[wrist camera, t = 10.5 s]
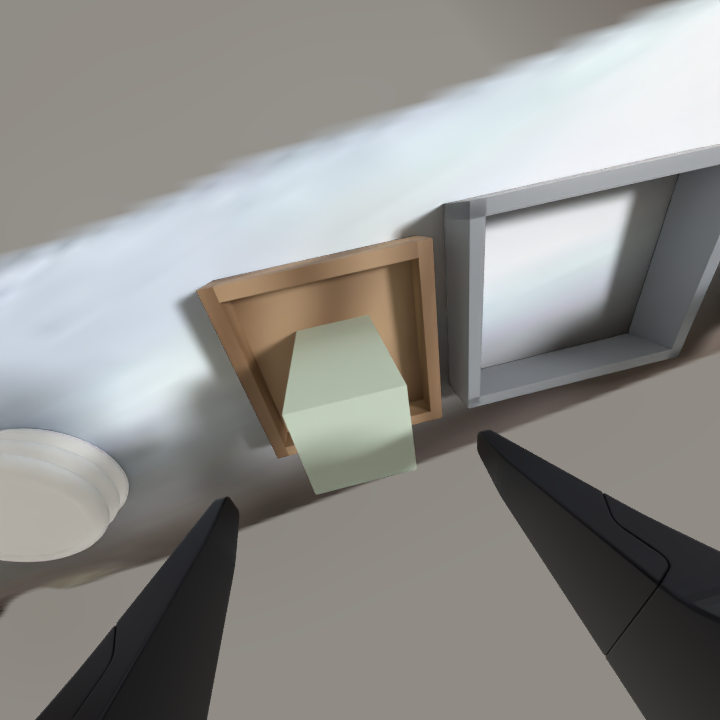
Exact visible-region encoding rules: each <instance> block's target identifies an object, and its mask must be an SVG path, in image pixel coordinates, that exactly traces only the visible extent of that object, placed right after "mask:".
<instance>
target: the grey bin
mask: <svg viewBox="0 0 720 720" xmlns="http://www.w3.org/2000/svg"><path fill="white" fill-rule="evenodd" d="M674 174H679V176H678V179H677V183H676V186H675V189H674V192H673V195H672V198H671V201H670V204H669V207H668V211H667V214H666V217H665V220H664V223H663V226H662V229H661V232H660V236H659V239H658V242H657V245H656V248H655V251H654V254H653V257H652V260H651V264H650V267H649V270H648V273H647V276H646V279H645V282H644V285H643V289H642V292H641V295H640V298H639V301H638V304H637V307H636V310H635V313H634V317H633V320H632V323H631V326H630V329H629V332H628V333H627V334H623V335H619V336H614V337H610V338H606V339H602V340H598V341H594V342H590V343H586V344H582V345H578V346H573V347H569V348H565V349H561V350H557V351H553V352H549V353H545V354H541V355H536V356H532V357H528V358H524V359H520V360H516V361H512V362H508V363H504V364H500V365H495V366H491V367H487V368H483V369H481V345H482V315H483V285H484V256H485V226H486V216H490V215H494V214H499V213H503V212H508V211H512V210H517V209H521V208H526V207H530V206H535V205H539V204H544V203H548V202H553V201H557V200H562V199H566V198H571V197H575V196H580V195H584V194H589V193H593V192H598V191H602V190H607V189H611V188H616V187H620V186H625V185H629V184H634V183H638V182H643V181H647V180H652V179H656V178H661V177H665V176H670V175H674ZM444 231H445V262H446V292H447V322H448V352H449V382H450V386H451V387H452V389H453V390H454V391H455V392H456V394H457V395H458V396H459V397H460V399H461V400H462V401H463V402H464V404H465V405H466V406H467V408H468V409H469V408H473V407H477V406H481V405H485V404H489V403H493V402H497V401H501V400H505V399H509V398H513V397H517V396H521V395H525V394H529V393H533V392H537V391H541V390H545V389H549V388H553V387H557V386H561V385H565V384H569V383H573V382H577V381H581V380H585V379H589V378H593V377H598V376H602V375H606V374H610V373H614V372H618V371H622V370H626V369H630V368H634V367H638V366H642V365H646V364H650V363H654V362H658V361H662V360H666V359H670V358H674V357H678V355H679V353H680V351H681V349H682V346H683V344H684V342H685V339H686V337H687V335H688V333H689V330H690V328H691V326H692V323H693V321H694V319H695V317H696V314H697V312H698V310H699V308H700V305H701V303H702V301H703V298H704V296H705V294H706V292H707V289H708V287H709V285H710V282H711V280H712V278H713V276H714V273H715V271H716V269H717V267H718V264H719V262H720V144H718V145H712V146H707V147H701V148H696V149H692V150H687V151H683V152H678V153H673V154H669V155H664V156H660V157H655V158H651V159H646V160H642V161H637V162H632V163H628V164H623V165H619V166H614V167H610V168H605V169H600V170H596V171H591V172H587V173H582V174H578V175H573V176H569V177H564V178H559V179H555V180H550V181H546V182H541V183H537V184H532V185H527V186H523V187H518V188H514V189H509V190H505V191H500V192H496V193H491V194H486V195H482V196H477V197H473V198H468V199H464V200H459V201H454V202H450V203H445V204H444Z"/></svg>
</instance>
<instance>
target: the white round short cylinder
mask: <svg viewBox="0 0 720 720" xmlns="http://www.w3.org/2000/svg"><path fill="white" fill-rule="evenodd" d="M128 492H129V483H128V479H127V476H126V474H125V472H124V471H123V469H122V468H121V467H120V465H119V464H118V463H117V462H116V461H115V460H114V459H113V458H112V457H111V456H110V455H108V454H107V453H106V452H104V451H103V450H101V449H100V448H98V447H96V446H94V445H92V444H90V443H88V442H86V441H84V440H82V439H79V438H77V437H74V436H70V435H67V434H64V433H59V432H55V431H49V430H42V429H31V428H16V429H6V430H0V560H3V561H13V562H39V561H48V560H55V559H59V558H63V557H67V556H70V555H73V554H76V553H78V552H81V551H83V550H85V549H87V548H89V547H90V546H91V545H93V544H94V543H95V542H96V541H98V540H99V539H100V538H101V537H102V536H103V534H104V533H105V531H106V530H107V527H108V525H109V524H110V523H111V522H112V521H113V520H114V518H115V517H116V515H117V512H118V510H119V509H120V508H121V507H122V506H123V505H124V503H125V502H126V499H127V496H128Z"/></svg>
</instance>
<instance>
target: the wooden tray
mask: <svg viewBox="0 0 720 720" xmlns="http://www.w3.org/2000/svg"><path fill="white" fill-rule="evenodd" d="M197 293H198V295H199V297H200V300H201V302H202V304H203V306H204V308H205V310H206V312H207V314H208V316H209V318H210V320H211V322H212V324H213V326H214V328H215V330H216V332H217V334H218V337H219V339H220V341H221V343H222V345H223V347H224V349H225V351H226V353H227V355H228V357H229V359H230V361H231V363H232V365H233V367H234V369H235V371H236V373H237V376H238V378H239V380H240V382H241V384H242V386H243V388H244V390H245V392H246V394H247V396H248V398H249V400H250V402H251V404H252V406H253V408H254V410H255V412H256V415H257V417H258V419H259V421H260V423H261V425H262V427H263V429H264V431H265V433H266V435H267V437H268V439H269V441H270V443H271V445H272V447H273V449H274V452H275V454H276V456H277V458H282V457H286V456H290V455H294V454H298V452H297V449H296V447H295V445H294V442H293V440H292V437H291V435H290V433H289V430H288V428H287V426H286V423H285V421H284V419H283V416H282V413H283V407H284V401H285V395H286V389H287V384H288V378H289V372H290V366H291V360H292V355H293V349H294V343H295V337H296V331H299V330H304V329H308V328H312V327H317V326H321V325H325V324H330V323H334V322H339V321H343V320H347V319H352V318H356V317H360V316H365V315H369V317H370V318H371V320H372V322H373V324H374V326H375V328H376V329H377V331H378V333H379V335H380V337H381V339H382V341H383V342H384V344H385V346H386V348H387V350H388V352H389V353H390V355H391V357H392V359H393V361H394V363H395V365H396V366H397V368H398V370H399V372H400V374H401V376H402V377H403V379H404V381H405V383H406V385H407V392H408V400H409V408H410V416H411V424H412V425H414V424H418V423H422V422H426V421H430V420H434V419H438V418H442V404H441V385H440V366H439V348H438V329H437V310H436V291H435V272H434V254H433V238H430V237H424V236H418V235H415V236H411V237H406V238H402V239H397V240H393V241H388V242H384V243H379V244H375V245H370V246H366V247H361V248H357V249H352V250H348V251H343V252H339V253H334V254H330V255H325V256H321V257H316V258H312V259H307V260H303V261H298V262H294V263H289V264H285V265H280V266H276V267H271V268H267V269H262V270H258V271H253V272H249V273H244V274H240V275H235V276H231V277H227V278H222V279H218V280H213V281H212V282H210V283H208V284H207V285H205V286H203V287H202V288H200V289H198V290H197Z"/></svg>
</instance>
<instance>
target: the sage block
mask: <svg viewBox="0 0 720 720" xmlns="http://www.w3.org/2000/svg"><path fill="white" fill-rule="evenodd" d="M282 416H283V419H284V421H285V423H286V426H287V428H288V430H289V433H290V435H291V437H292V440H293V442H294V445H295V447H296V449H297V452H298V454H299V456H300V459H301V461H302V463H303V466H304V468H305V471H306V473H307V475H308V478H309V480H310V482H311V485H312V487H313V490H314V492H315V494H316V495H317V494H321V493H325V492H329V491H333V490H337V489H341V488H345V487H349V486H353V485H357V484H361V483H365V482H369V481H373V480H377V479H381V478H385V477H389V476H392V475H396V474H400V473H404V472H408V471H412V470H416V469H417V465H416V457H415V449H414V441H413V432H412V424H411V416H410V408H409V400H408V392H407V385H406V383H405V381H404V379H403V377H402V376H401V374H400V372H399V370H398V368H397V366H396V365H395V363H394V361H393V359H392V357H391V355H390V353H389V352H388V350H387V348H386V346H385V344H384V342H383V341H382V339H381V337H380V335H379V333H378V331H377V329H376V328H375V326H374V324H373V322H372V320H371V318H370V317H369V315H365V316H360V317H356V318H352V319H347V320H343V321H339V322H334V323H330V324H325V325H321V326H317V327H312V328H308V329H304V330H299V331H296V337H295V343H294V349H293V355H292V360H291V366H290V372H289V378H288V384H287V389H286V395H285V401H284V407H283V413H282Z"/></svg>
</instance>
